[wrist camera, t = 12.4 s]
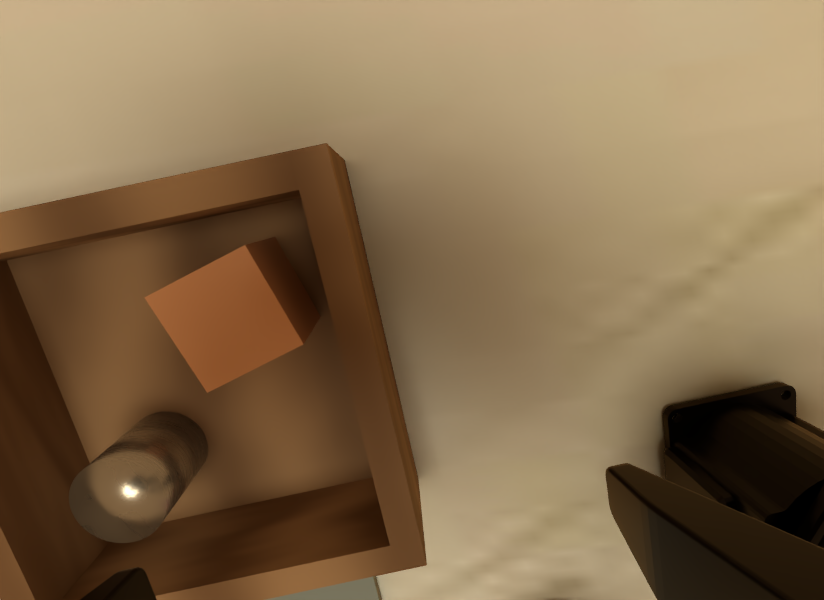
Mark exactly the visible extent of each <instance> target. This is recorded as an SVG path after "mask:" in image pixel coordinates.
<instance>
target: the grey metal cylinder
mask: <svg viewBox="0 0 824 600" xmlns="http://www.w3.org/2000/svg"><path fill="white" fill-rule="evenodd" d="M207 456H208V442H207V438H206V436H205V434H204V432H203V431H202V429H201V428H200V427H199V425H198V424H197V423H195V422H194V421H193V420H192V419H190V418H188V417H187V416H184V415H182V414H179V413H175V412H169V411H162V412H156V413H152V414H150V415H147V416H146V417H144V418H142V419H141V420H140V421H139V422H138V423H136V424H135V425H134V426H133V427H132V428H131V429H129V430H128V431H127V432H126V433H125V434H124V435H122V436H121V437H120V438H119V439H118V440H117V441H115V442H114V443H113V444H112V445H111V446H110V447H108V448H107V449H106V450H105V451H104V452H103V453H101V454H100V455H99V456H98V457H97V458H96V459H94V460H93V461H92V462H91V463H90V464H89V465H87V466H86V467H85V468H84V469H83V470H82V471H81V472H79V474H78V475H77V476H76V477H75V479H74V480H73V482H72V484H71V487H70V490H69V504H70V508H71V511H72V513H73V515H74V517H75V519H76V520H77V522H78V523H79V524H80V525H81V526H82V527H83V528H84V529H85V530H86V531H88V532H89V533H90V534H92V535H94V536H96V537H97V538H100V539H102V540H105V541H109V542H114V543H130V542H136V541H139V540H142V539H144V538H146V537H148V536H150V535H151V534H152V533H154V532H155V531H156V530H157V529H158V528H159V526H160V525H161V524H162V522H163V521H164V519H165V518H166V517H167V515H168V514H169V513H170V511H171V510H172V508H173V507H174V506H175V504H176V503H177V501H178V500H179V499H180V497H181V496H182V494H183V493H184V492H185V490H186V489H187V488H188V486H189V485H190V483H191V482H192V481H193V479H194V478H195V476H196V475H197V474H198V472H199V471H200V469H201V468H202V467H203V465H204V464H205V462H206V459H207Z"/></svg>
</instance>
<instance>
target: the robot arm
mask: <svg viewBox="0 0 824 600" xmlns="http://www.w3.org/2000/svg"><path fill="white" fill-rule="evenodd" d="M783 391H784V393H783V394H782V392H783ZM781 394H782V395H781ZM677 413H678V414H677ZM675 414H677V417H676V418H674V419H673V416H674V415H675ZM663 423H664V434H665V445H666V448H665V451H664V464H665V475H666V480H665V479H663V478H661V477H659V476H656V475H654V474H652V473H649V472H647V471H645V470H642V469H640V468H638V467H636V466H633V465H631V464H628V463H625V464H620V465H615V466H610V467H608V468H607V469H606V482H607V490H608V498H609V505H610V509H611V512H612V515H613V517H614V519H615V521H616V523H617V525H618V527H619V529H620V531H621V533H622V535H623V536H624V538H625V540H626V542H627V544H628V546H629V548H630V550H631V552H632V553H633V555H634V557H635V559H636V561H637V563H638V565H639V567H640V569H641V570H642V572H643V574H644V576H645V578H646V580H647V582H648V584H649V585H650V587H651V589H652V591H653V593H654V594H655V596H656V598H657V600H824V431H823V430H821V429H819V428H817V427H815V426H813V425H811V424H809V423H807V422H805V421H803V420H802V419H800V418H798V417H796V391H795V389H794V388H793V387H792V386H790V385H787V384H785V383H775V384H770V385H765V386H761V387H756V388H751V389H747V390H742V391H737V392H733V393H728V394H723V395H719V396H714V397H709V398H705V399H700V400H695V401H691V402H686V403H681V404H677V405H672V406H669V407H668V408H666V409H665V411H664V413H663ZM80 600H157V599H156V596H155V594H154V591H153V589H152V586H151V584H150V581H149V579H148V576H147V574H146V572H145V570H144V569H142V568H140V567H135V568H130V569H126V570H121V571H118V572H116V573H115V574H113V575H112V576H111V577H109V578H108V579H107V580H105V581H104V582H103V583H101V584H100V585H99V586H97V587H96V588H95V589H93V590H92V591H91V592H89V593H88V594H87V595H85V596H84V597H83V598H81V599H80Z"/></svg>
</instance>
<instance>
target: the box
mask: <svg viewBox="0 0 824 600" xmlns="http://www.w3.org/2000/svg"><path fill="white" fill-rule="evenodd" d="M272 237H275V238H276V239H277V241H278V243H279V245H280V246H281V248H282V250H283V252H284V253H285V255H286V257H287V259H288V260H289V262H290V264H291V266H292V267H293V269H294V271H295V273H296V274H297V276H298V278H299V280H300V281H301V283H302V285H303V287H304V288H305V290H306V292H307V294H308V295H309V297H310V299H311V301H312V302H313V304H314V306H315V308H316V309H317V311H318V313H319V315H320V316H321V317H320V319H319V321H318V322H317V324H316V325H315V327H314V329H313V330H312V332H311V333H310V335H309V337H308V338H307V340H306V341H305V343H304V344H303V345H301V346H299V347H297V348H295V349H293V350H291V351H289V352H287V353H285V354H283V355H281V356H279V357H277V358H276V359H274V360H272V361H270V362H268V363H266V364H264V365H262V366H260V367H258V368H256V369H254V370H252V371H250V372H248V373H246V374H244V375H242V376H240V377H238V378H236V379H234V380H232V381H230V382H228V383H226V384H224V385H222V386H220V387H218V388H216V389H214V390H212V391H210V392H208V393H207V392H206V390H205V389H204V387H203V386H202V384H201V383H200V381H199V380H198V378H197V377H196V375H195V374H194V372H193V371H192V369H191V368H190V366H189V364H188V363H187V361H186V360H185V358H184V357H183V355H182V354H181V352H180V351H179V349H178V348H177V346H176V345H175V343H174V342H173V340H172V339H171V337H170V336H169V334H168V333H167V331H166V330H165V328H164V327H163V325H162V324H161V322H160V321H159V319H158V318H157V316H156V315H155V313H154V312H153V310H152V309H151V307H150V306H149V304H148V302H147V301H146V299H145V298H144V297H146V296H148V295H150V294H152V293H154V292H156V291H158V290H160V289H162V288H164V287H165V286H167V285H169V284H171V283H173V282H175V281H177V280H179V279H181V278H183V277H185V276H186V275H188V274H190V273H192V272H194V271H196V270H198V269H200V268H202V267H204V266H206V265H208V264H209V263H211V262H213V261H215V260H217V259H219V258H221V257H223V256H225V255H227V254H229V253H230V252H232V251H234V250H236V249H238V248H240V247H242V246H244V245H246V244H250V243H254V242H257V241H261V240H265V239H268V238H272ZM162 411H169V412H175V413H179V414H182V415H184V416H187V417H188V418H190V419H192V420H193V421H194V422H195V423H197V424H198V425H199V427H200V428H201V429H202V431H203V432H204V434H205V436H206V438H207V442H208V456H207V459H206V462H205V464H204V465H203V467H202V468H201V469H200V471H199V472H198V474H197V475H196V476H195V478H194V479H193V481H192V482H191V483H190V485H189V486H188V488H187V489H186V490H185V492H184V493H183V494H182V496H181V497H180V499H179V500H178V501H177V503H176V504H175V506H174V507H173V508H172V510H171V511H170V513H169V514H168V515H167V517H166V518H165V519H164V521H163V522H162V524H161V525H160V526H159V528H158V529H157V530H156V531H155V532H154V533H152V534H151V535H150V536H148V537H146V538H144V539H142V540H139V541H136V542H130V543H114V542H109V541H105V540H102V539H100V538H97V537H96V536H94V535H92V534H90V533H89V532H88V531H86V530H85V529H84V528H83V527H82V526H81V525H80V524H79V523H78V522H77V520H76V519H75V517H74V515H73V513H72V511H71V508H70V504H69V490H70V487H71V484H72V482H73V480H74V479H75V477H76V476H77V475H78V474H79V472H81V471H82V470H83V469H84V468H85V467H86V466H87V465H89V464H90V463H91V462H92V461H93V460H94V459H96V458H97V457H98V456H99V455H100V454H101V453H103V452H104V451H105V450H106V449H107V448H108V447H110V446H111V445H112V444H113V443H114V442H115V441H117V440H118V439H119V438H120V437H121V436H122V435H124V434H125V433H126V432H127V431H128V430H129V429H131V428H132V427H133V426H134V425H135V424H136V423H138V422H139V421H140V420H141V419H142V418H144V417H146V416H147V415H150V414H152V413H156V412H162ZM425 565H427V563H426V553H425V542H424V532H423V522H422V512H421V502H420V492H419V481H418V476H417V472H416V468H415V463H414V459H413V455H412V450H411V446H410V442H409V437H408V433H407V429H406V424H405V420H404V416H403V411H402V407H401V403H400V398H399V394H398V390H397V385H396V381H395V377H394V372H393V368H392V364H391V359H390V355H389V351H388V346H387V342H386V338H385V333H384V329H383V325H382V320H381V316H380V312H379V307H378V303H377V299H376V294H375V290H374V286H373V281H372V277H371V273H370V268H369V264H368V260H367V255H366V251H365V247H364V242H363V238H362V234H361V229H360V225H359V221H358V216H357V212H356V208H355V203H354V199H353V195H352V190H351V186H350V182H349V177H348V173H347V169H346V164H345V160H344V159H343V158H342V157H341V156H339V155H338V154H337V153H336V152H335V151H334V150H333V149H332V148H331V147H330V146H329V145H328V144H327V143H325V144H320V145H316V146H311V147H306V148H302V149H297V150H292V151H288V152H283V153H278V154H273V155H269V156H264V157H259V158H255V159H250V160H245V161H241V162H236V163H231V164H226V165H222V166H217V167H212V168H208V169H203V170H198V171H194V172H189V173H184V174H180V175H175V176H170V177H165V178H161V179H156V180H151V181H147V182H142V183H137V184H133V185H128V186H123V187H118V188H114V189H109V190H104V191H100V192H95V193H90V194H86V195H81V196H76V197H72V198H67V199H62V200H57V201H53V202H48V203H43V204H39V205H34V206H29V207H25V208H20V209H15V210H10V211H6V212H1V213H0V599H1V600H80V599H81V598H83V597H84V596H85V595H87V594H88V593H89V592H91V591H92V590H93V589H95V588H96V587H97V586H99V585H100V584H101V583H103V582H104V581H105V580H107V579H108V578H109V577H111V576H112V575H113V574H115V573H116V572H118V571H121V570H126V569H130V568H135V567H140V568H142V569H144V570H145V572H146V574H147V576H148V579H149V581H150V584H151V586H152V589H153V591H154V594H155V596H156V599H157V600H266V599H271V598H275V597H280V596H285V595H289V594H294V593H299V592H303V591H308V590H313V589H317V588H322V587H327V586H331V585H336V584H341V583H345V582H350V581H355V580H359V579H364V578H369V577H373V576H378V575H383V574H387V573H392V572H397V571H401V570H406V569H411V568H416V567H420V566H425Z"/></svg>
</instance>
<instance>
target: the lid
mask: <svg viewBox="0 0 824 600" xmlns="http://www.w3.org/2000/svg"><path fill="white" fill-rule="evenodd" d="M266 600H382V598H381V594H380V591H379V587H378V583H377V579H376V576H373V577H369V578H364V579H359V580H355V581H350V582H345V583H341V584H336V585H331V586H327V587H322V588H317V589H313V590H308V591H303V592H299V593H294V594H289V595H285V596H280V597H275V598H271V599H266Z"/></svg>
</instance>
